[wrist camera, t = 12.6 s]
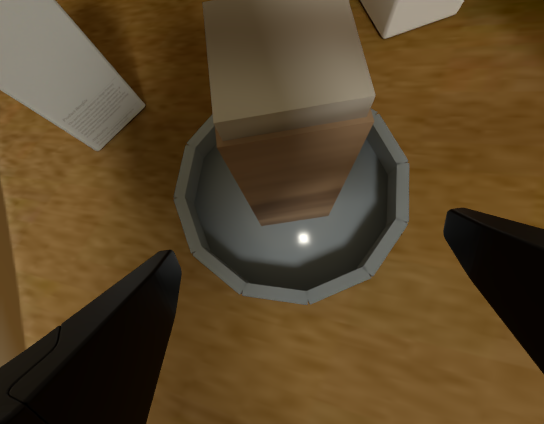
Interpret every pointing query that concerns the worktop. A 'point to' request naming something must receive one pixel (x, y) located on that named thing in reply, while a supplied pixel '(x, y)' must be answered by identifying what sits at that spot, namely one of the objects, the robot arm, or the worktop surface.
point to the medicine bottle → (407, 13)
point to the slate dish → (294, 223)
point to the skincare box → (62, 72)
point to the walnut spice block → (287, 101)
